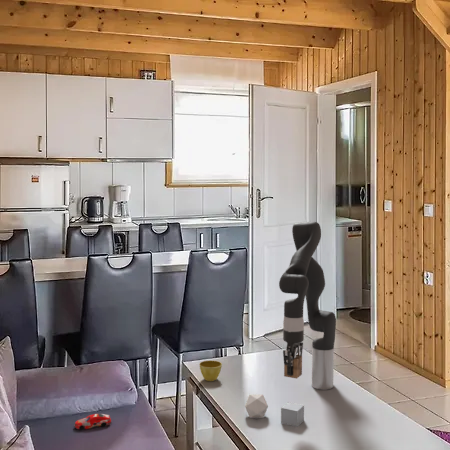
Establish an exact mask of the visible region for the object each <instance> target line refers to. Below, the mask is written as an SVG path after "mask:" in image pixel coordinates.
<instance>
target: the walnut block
mask: <svg viewBox="0 0 450 450" xmlns="http://www.w3.org/2000/svg"><path fill="white" fill-rule="evenodd" d="M291 357H293V356H291ZM291 361H292V359H291ZM283 367H284V368H283V369H284V370H283V376H284V377H285V378H292V379H298V378H300V377H301V376H302V375H303V355H302V356H296V359H294V364H293V375H292V376H289V375H287V365H284V364H283Z"/></svg>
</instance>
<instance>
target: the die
mask: <svg viewBox="0 0 450 450" xmlns="http://www.w3.org/2000/svg"><path fill="white" fill-rule="evenodd" d="M268 407H269V405H268V403H267V400H266V398H265V395H264V394H249V395H248V397H247V400H246V403H245V405H244V408H245V410H246V413H247V415H248V417H249V419H264V418H265V415H266V413H267V409H268Z"/></svg>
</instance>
